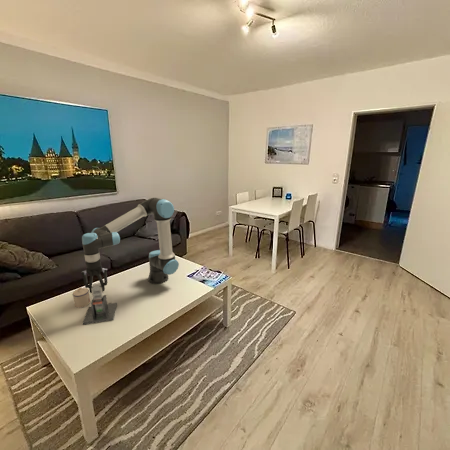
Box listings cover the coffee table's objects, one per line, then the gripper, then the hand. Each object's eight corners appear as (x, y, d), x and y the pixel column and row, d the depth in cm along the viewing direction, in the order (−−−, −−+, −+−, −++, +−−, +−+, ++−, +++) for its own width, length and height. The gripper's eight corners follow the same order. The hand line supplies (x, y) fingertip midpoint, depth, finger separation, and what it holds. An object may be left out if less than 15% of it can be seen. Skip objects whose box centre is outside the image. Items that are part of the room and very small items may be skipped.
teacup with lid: (93, 303, 161) (90, 287, 158) (78, 310, 154) (75, 293, 151) (84, 297, 168) (82, 281, 165) (70, 303, 161) (67, 287, 158)
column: (97, 310, 151) (93, 284, 146) (104, 309, 152) (101, 283, 147) (96, 315, 146) (91, 288, 142) (103, 314, 148) (99, 287, 143)
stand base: (89, 308, 155) (86, 293, 152) (116, 304, 160) (114, 290, 157) (82, 325, 140) (80, 308, 138) (113, 320, 145) (111, 304, 142)
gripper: (74, 264, 135) (80, 302, 141) (108, 261, 139) (113, 297, 146) (77, 259, 142) (83, 295, 148) (110, 256, 146) (114, 291, 153)
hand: (98, 296), depth 147 cm, fingers closed on column, 4 cm apart
